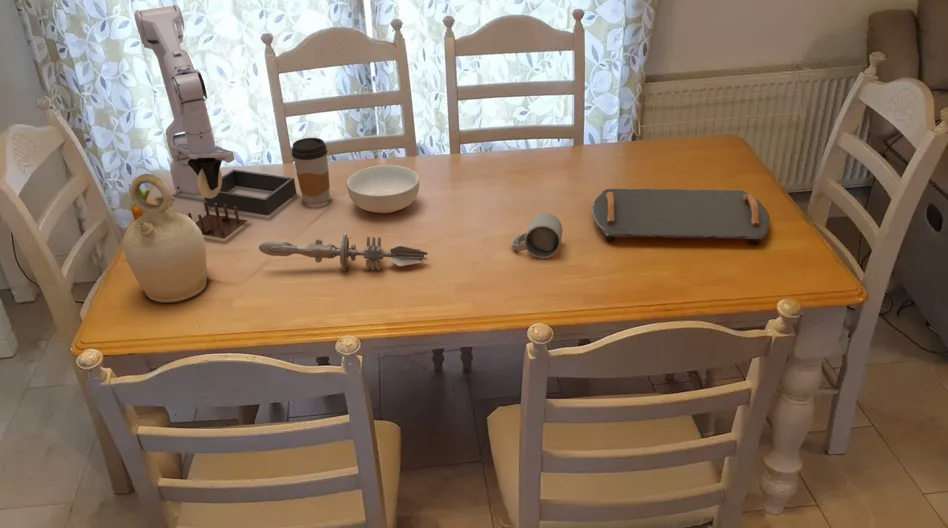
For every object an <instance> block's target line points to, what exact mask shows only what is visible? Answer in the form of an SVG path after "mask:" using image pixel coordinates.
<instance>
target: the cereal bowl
mask: <svg viewBox="0 0 948 528" xmlns="http://www.w3.org/2000/svg"><path fill="white" fill-rule="evenodd" d="M346 188H347V192H348V195H349V197H350V199H351V201H352V203H354V204H355V205H356V206H357V207H358V208H360V209H362V210H364V211H367V212H370V213H376V214H382V215H383V214H390V213H391V214H392V213H394V212H398V211H400V210H402V209H404V208H406V207H408V206H410V205H411V204H412V203H413V202H414V201H415V199H416V198H417V197H418V194H419V191H420V177H419V175H418V174H417V172H416V171H414V170H413V169H411V168H408V167H406V166H402V165H395V164H380V165H379V164H378V165H373V166H369V167H365V168H361V169H360V170H356V171H355V172H354V173H352V174H351V175H350V176H349V177H348V178H347V180H346Z"/></svg>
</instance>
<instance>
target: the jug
mask: <svg viewBox="0 0 948 528" xmlns="http://www.w3.org/2000/svg"><path fill="white" fill-rule="evenodd" d="M143 184H150V185H152V186H154V187H155V188H156V189H157V190H158V192H160V195H159V196H158V195H157V196H155V197H154V201H156V204H154V205H152V204H150V203H148V202H146V201H147V200H146V201H145V200H144V199H143V198H142V196H141V194H140V189H141V188H140V187H141V186H142V185H143ZM129 190H130V191H129V192H130V199H131V198H132V199H131V200H132V202H133V203H134V204H135V205H136V206H137V207H138V208H140V209H141V210H142V211H143V215H142V216H140V217H139V218H138V219H137V220H134V221H133V222H132V223H131V224H130V226H129V227H128V228H127V229H126V232H125V234H124V239H123V252H124V257H125V261H126V263H127V265H128V267H129V268H130V271H131V272H132V274H133V276H134V277H135V279H136V281H137V282H138V284H139V286H140V287H141V289H142V290H143V292H144V293H145V295H146V296H147V298H149V299H150V300H152V301H154V302H157V303H160V304H161V303H162V304H169V303H170V304H172V303H179V302H182V301H186V300H189V299H191V298H194V297H196V296H198V295H199V294H200V293H201V292H202V291H204V289H206V286H207V282H208V279H207V278H208V264H207V262H208V261H207V245H206V241H205V238H204V235H202V232H201V231H200V229H199V227H198V226H197V225H196V224H195V223H196V222H194V219H193V218H192V219H191V218H189V217H188V215H187V214H183V213H182V212H177V211H175V210H173V206H174V203H175V200H176V197H174V196H172V192H171V190H170V188H169V186H168V184H167V183H166V182H165V181H164V180H163V179H162V178H160V177H159V176H157V175H155V174H152V173H151V174H150V173H144V174H140V175H138V176H137V177H135V178H134V179H133V180H132V182H131V184H130V188H129Z"/></svg>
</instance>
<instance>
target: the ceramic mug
mask: <svg viewBox="0 0 948 528" xmlns="http://www.w3.org/2000/svg"><path fill="white" fill-rule="evenodd" d="M562 236H563V226H562V222H561V221H560V219H559V218H558V217H557V216H555V215H554V214H552V213H547V212H543V213H540V214H539V213H538V214H537V215H536V216H534V217H533V218H532V220H531V221H530V222H529V224H528V228H527V230H526V232H524V233H521V234H520V235H518V236H517V237H515V238H514V239H513V240H512V243H511V246H512V248H513V250H514V251H515V252H523V251H527V252H528V254H530V255H531V256H533V257H535V258H536V259H537V258H538V259H549V258H552V257H554V256H555V255H556V254H557V253H558V252H559V250H560V248H561V243H562ZM522 242H523V243H522Z"/></svg>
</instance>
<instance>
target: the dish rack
mask: <svg viewBox="0 0 948 528" xmlns="http://www.w3.org/2000/svg"><path fill="white" fill-rule="evenodd" d="M203 205H204V209H205V214H206V215H204V216H202V214H197V218H198V220H197V221H196V222H195V224H196V225H197V226H198V227H199V229H200V231H201V232H202V235H203V236H207V237H212V238H218V239H222V240H223V239H224V240H225V239H226V238H227V237H229V236H230V235H231V234H233V233H234V232H235V231H237V230H238V229H239V228H240V227H242V226H243V225H245V223H247V222H248V219H241V218H240V217H239V210H237V207H236V206H234V210H233V213H234V216H235V217H230V215H229V211H228V210H229V209H227V206H226V205H223V207H224V208H223V211H224V215H220V211H219V207H218V206H217V203H214V206H213V207H214V211H215V214H211V213H210V210H209V206H208V205H207V202H206V201H205V200H204V201H203ZM187 216H188V217H189V218H191V219H192V220H193V217H192V213H191V212H188V213H187Z"/></svg>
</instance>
